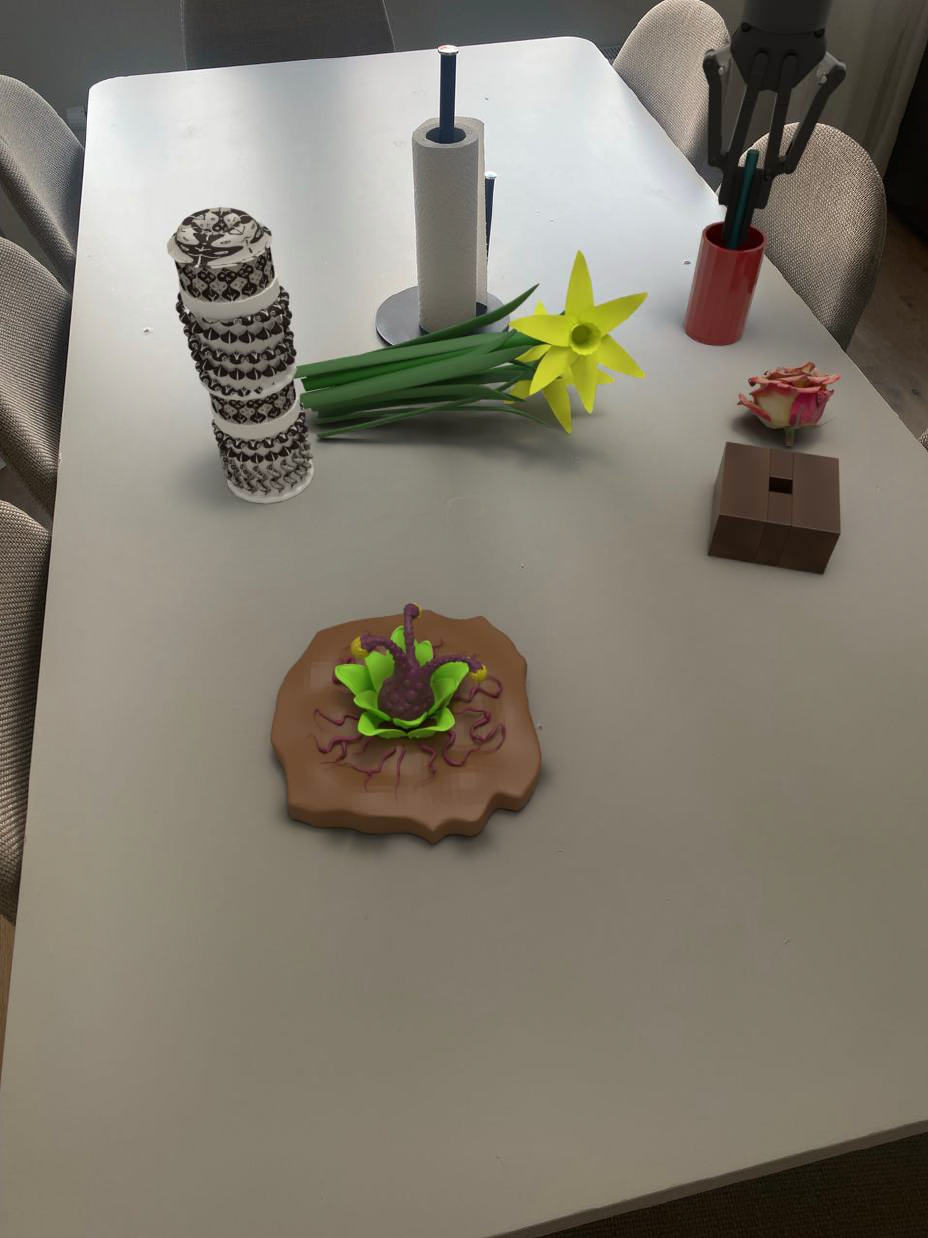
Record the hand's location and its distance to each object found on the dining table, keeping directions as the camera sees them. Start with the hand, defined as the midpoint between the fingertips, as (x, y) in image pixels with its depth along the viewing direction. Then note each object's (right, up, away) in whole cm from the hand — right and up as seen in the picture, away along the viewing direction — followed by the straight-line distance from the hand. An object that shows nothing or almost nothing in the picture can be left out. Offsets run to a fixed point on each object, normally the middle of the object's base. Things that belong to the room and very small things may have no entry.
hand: (734, 235), depth 96 cm
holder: (-1, -32, -13) cm, 35 cm away
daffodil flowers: (-29, -21, -3) cm, 36 cm away
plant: (-33, -49, -27) cm, 65 cm away
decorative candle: (-47, -27, -8) cm, 55 cm away
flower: (+3, -21, -3) cm, 22 cm away
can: (0, -7, +8) cm, 11 cm away
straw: (0, -5, +6) cm, 7 cm away
